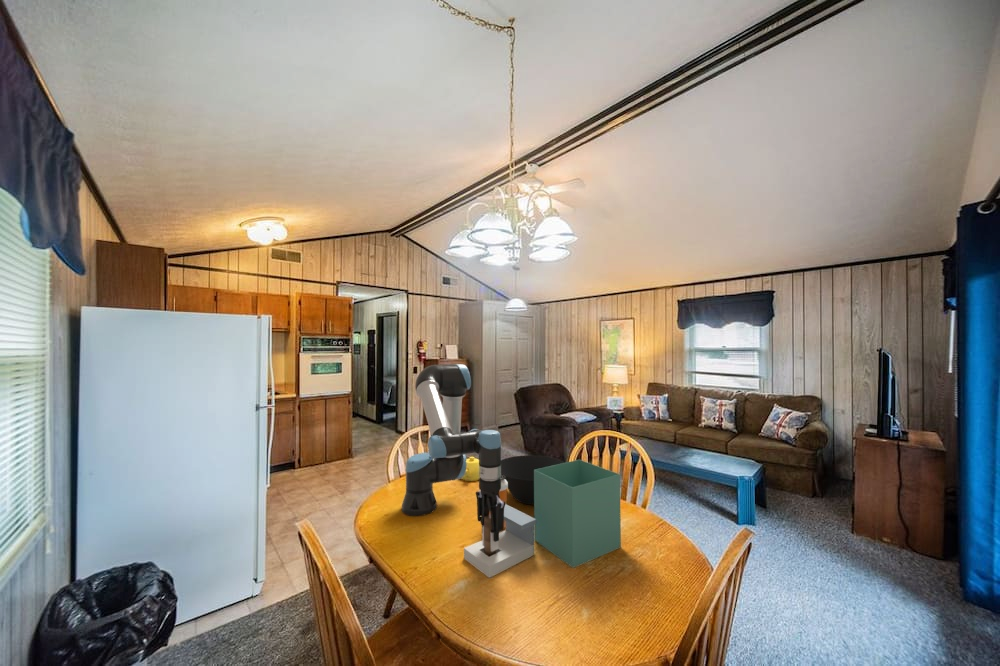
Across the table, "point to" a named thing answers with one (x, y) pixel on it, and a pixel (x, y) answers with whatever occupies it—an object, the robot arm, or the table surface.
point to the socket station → (505, 544)
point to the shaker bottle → (503, 492)
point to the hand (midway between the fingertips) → (490, 546)
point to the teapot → (471, 470)
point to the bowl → (524, 474)
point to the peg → (488, 536)
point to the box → (577, 511)
